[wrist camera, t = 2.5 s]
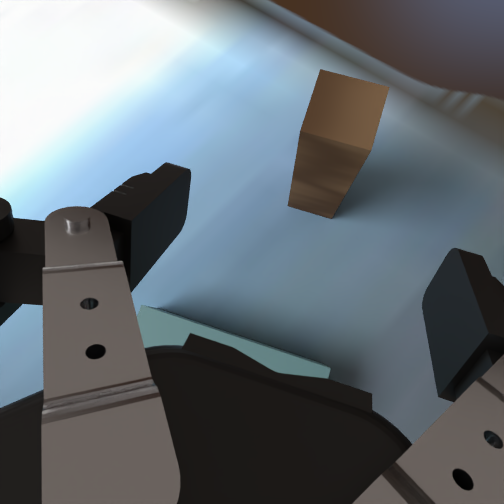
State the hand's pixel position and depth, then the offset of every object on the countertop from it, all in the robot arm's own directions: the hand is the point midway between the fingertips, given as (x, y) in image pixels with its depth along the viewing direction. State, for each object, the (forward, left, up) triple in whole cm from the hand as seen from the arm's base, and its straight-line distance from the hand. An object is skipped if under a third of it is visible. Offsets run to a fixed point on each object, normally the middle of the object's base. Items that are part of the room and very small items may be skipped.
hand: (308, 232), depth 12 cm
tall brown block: (0, -6, -13) cm, 15 cm away
